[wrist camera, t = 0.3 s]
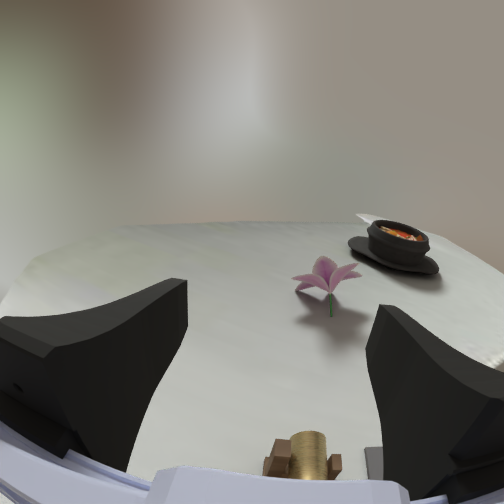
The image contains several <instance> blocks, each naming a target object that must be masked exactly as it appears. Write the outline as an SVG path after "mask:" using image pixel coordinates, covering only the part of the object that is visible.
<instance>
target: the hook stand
mask: <svg viewBox="0 0 504 504" xmlns="http://www.w3.org/2000/svg"><path fill="white" fill-rule="evenodd" d="M291 441H292V440H283V439H276V440H275V443H274V445H273V448H272V451H271V454H270V457H265V460H264V466H263V475H262V476H266V477H275V478H287V479H288V463H289V460H290V458H291ZM341 471H342V460H341V454H332V455H331V456H330V458H329V459H328V460H327V477H328V480H334V479H335V478H336V477H337V476H338V474H339V473H340V472H341Z"/></svg>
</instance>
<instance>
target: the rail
mask: <svg viewBox="0 0 504 504" xmlns="http://www.w3.org/2000/svg"><path fill="white" fill-rule="evenodd" d="M290 440H292V441H291V458H290V460H289V463H288V479H302V480H328V477H327V452H326V437H325V435H324V434H322V433H320V432H316V431H303V432H299V433H296V434H294V435H293V436H292V437H291V438H290Z"/></svg>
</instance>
